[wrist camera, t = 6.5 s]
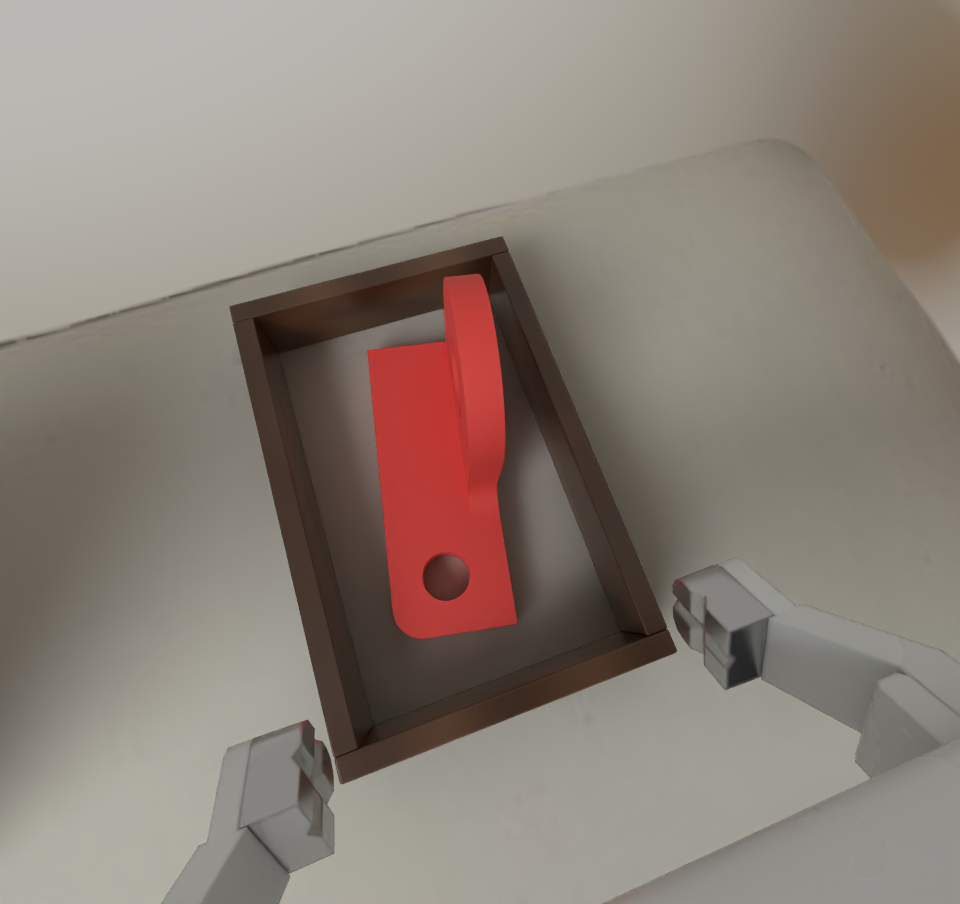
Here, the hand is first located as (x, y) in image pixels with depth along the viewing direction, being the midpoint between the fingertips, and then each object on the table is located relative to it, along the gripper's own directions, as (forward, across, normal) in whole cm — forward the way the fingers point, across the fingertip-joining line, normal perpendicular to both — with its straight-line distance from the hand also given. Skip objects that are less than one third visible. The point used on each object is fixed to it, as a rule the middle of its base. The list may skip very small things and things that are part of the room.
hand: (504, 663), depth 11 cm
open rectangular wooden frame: (+11, 0, +2) cm, 11 cm away
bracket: (+11, 0, +2) cm, 11 cm away
